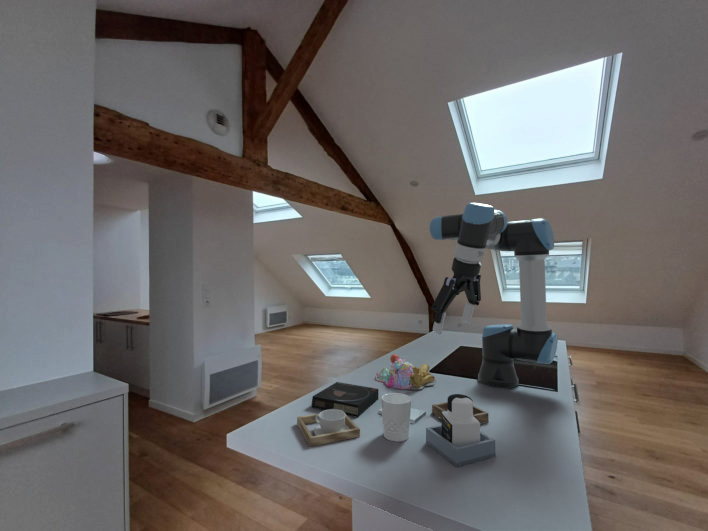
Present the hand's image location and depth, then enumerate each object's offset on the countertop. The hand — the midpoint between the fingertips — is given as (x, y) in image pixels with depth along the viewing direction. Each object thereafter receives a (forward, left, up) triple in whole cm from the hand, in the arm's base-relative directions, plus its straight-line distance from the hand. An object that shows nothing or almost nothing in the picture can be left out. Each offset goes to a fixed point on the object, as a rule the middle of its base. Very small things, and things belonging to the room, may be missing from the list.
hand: (451, 327), depth 99 cm
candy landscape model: (-7, -38, -28) cm, 48 cm away
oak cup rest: (+36, -9, -28) cm, 46 cm away
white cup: (+20, +1, -28) cm, 34 cm away
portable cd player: (+24, -24, -28) cm, 44 cm away
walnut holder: (-4, -2, -28) cm, 28 cm away
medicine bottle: (+9, +13, -27) cm, 31 cm away
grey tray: (+9, +13, -28) cm, 32 cm away
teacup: (+35, -8, -28) cm, 45 cm away
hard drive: (+11, -10, -28) cm, 32 cm away
